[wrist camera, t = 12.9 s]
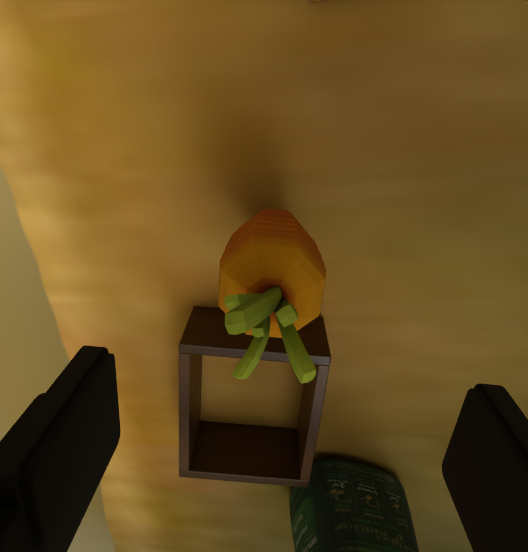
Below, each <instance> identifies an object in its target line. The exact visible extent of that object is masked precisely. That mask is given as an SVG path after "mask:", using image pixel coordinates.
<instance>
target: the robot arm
mask: <svg viewBox="0 0 528 552" xmlns="http://www.w3.org/2000/svg"><path fill="white" fill-rule="evenodd" d="M119 438H120V419H119V406H118V393H117V381H116V368H115V357H114V354H110V353H108V350H107V348H105V347H95V346H83V347H82V348H81V349H80V350H79V351H78V352H77V354H76V355H75V356H74V358H73V359H72V360H71V361H70V363H69V364H68V365H67V367H66V368H65V369H64V370H63V372H62V373H61V374H60V375H59V376H58V378H57V379H56V380H55V382H54V383H53V384H52V385H51V387H50V388H49V389H48V390H47V392H46V393H42V394H40V395H38V396H37V397H36V399H34V400H33V402H32V403H31V404H30V405H29V407H28V408H27V409H26V410H25V412H24V413H23V414H22V415H21V417H20V418H19V419H18V420H17V421H16V423H15V424H14V425H13V426H12V428H11V429H10V430H9V431H8V433H7V434H6V435H5V436H4V438H3V439H2V440H1V441H0V552H67V550H68V548H69V546H70V544H71V542H72V540H73V538H74V536H75V533H76V531H77V529H78V527H79V525H80V523H81V521H82V518H83V517H84V515H85V512H86V510H87V508H88V506H89V504H90V502H91V500H92V498H93V495H94V493H95V491H96V489H97V487H98V485H99V483H100V481H101V479H102V477H103V474H104V472H105V470H106V468H107V466H108V464H109V462H110V460H111V458H112V455H113V453H114V451H115V449H116V447H117V445H118V442H119ZM442 473H443V477H444V480H445V482H446V485H447V487H448V490H449V492H450V495H451V497H452V500H453V502H454V505H455V507H456V510H457V512H458V514H459V517H460V519H461V522H462V524H463V527H464V529H465V532H466V534H467V537H468V539H469V542H470V544H471V547H472V549H473V552H528V419H527V418H526V417H525V415H524V414H523V412H522V411H521V410H520V408H519V407H518V406H517V404H516V403H515V401H514V400H513V399H512V397H511V396H510V395H509V393H508V392H507V391H506V389H505V388H504V387H503V386H500V385H489V384H477V385H476V386H475V387H474V389H472V388H471V389H469V390H468V392H467V394H466V397H465V400H464V403H463V406H462V408H461V411H460V414H459V417H458V420H457V423H456V426H455V428H454V431H453V434H452V437H451V440H450V443H449V445H448V448H447V451H446V454H445V457H444V460H443V463H442Z"/></svg>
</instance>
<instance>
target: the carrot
mask: <svg viewBox="0 0 528 552" xmlns="http://www.w3.org/2000/svg"><path fill="white" fill-rule="evenodd" d="M325 279H326V269H325V266H324V263H323V260H322V257H321V254H320V252H319V250H318V247H317V245H316V243H315V242H314V240H313V239H312V238H311V237H310V235H309V234H308V233H307V232H306V231H305V229H304V228H303V227H302V226H301V225H300V223H299V222H298V221H297V220H296V219H295V217H294V216H293V215H292V214H291V213H290V212H289V211H286V210H275V209H262V210H261V211H259V212H258V213H257V214H256V215H255V216H253V217H252V218H251V219H250V220H248V221H247V222H246V223H245V224H244V225H242V226H241V227H240V228H239V229H238V230H237V231H236V232H235V233H234V234H233V235H232V236H231V238H230V240H229V242H228V244H227V246H226V248H225V250H224V253H223V255H222V258H221V260H220V273H219V294H218V305H219V307H220V308H221V309H222V310H223V311H224V312H225V313H226V314H225V327H226V329H227V331H228V333H229V334H233V335H237V334H240V333H245V334H246V335H253V336H254V338H253V340H252V342H251V344H250V346H249V347H248V349H247V351H246V353H245V354H244V356H243V358H242V359H241V361H240V362H239V364H238V365H237V367H236V369H235V371H234V372H233V374H232V376H234V377H236V378H237V379H248V377H249V376H250V375H251V373H252V372H253V371H254V369H255V367H256V365H257V364H258V362H259V360H260V358H261V356H262V353H263V351H264V349H265V346H266V344H267V341H268V338H269V337H277V338H282V339H283V342H284V345H285V349H286V352H287V355H288V358H289V361H290V364H291V366H292V368H293V370H294V373H295V375H296V376H297V378H298V380H299V381H300V383H308V382H309V381H311V380H313V378H314V377H315V375H316V368H315V366H314V364H313V362H312V360H311V358H310V356H309V354H308V353H307V351H306V349H305V347H304V345H303V343H302V340H301V338H300V336H299V334H298V332H297V331H298V330H299V329H301V328H302V327H304V326H305V325H306V324H308V323H309V322H311V321H312V320H314V319H315V318H317V317H318V316H319V314H320V309H321V303H322V297H323V291H324V285H325Z"/></svg>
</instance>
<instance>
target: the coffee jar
mask: <svg viewBox="0 0 528 552" xmlns="http://www.w3.org/2000/svg"><path fill="white" fill-rule="evenodd" d="M289 502H290V517H291V526H292V533H293V540H294V546H295V552H419V550H418V545H417V541H416V536H415V531H414V527H413V522H412V518H411V514H410V510H409V506H408V502H407V499H406V495H405V492H404V489H403V486H402V485H401V483H400V482H399V481H398V480H397V479H396V478H395V477H394V476H392V475H390V474H388V473H386V472H384V471H381V470H379V469H376V468H373V467H370V466H368V465H364V464H360V463H356V462H352V461H348V460H342V459H336V458H323V459H320V460H318V461H316V462H314V463H313V464H312V470H311V475H310V480H309V486H308V487H296V486H293V488H292V491H291V494H290V499H289Z"/></svg>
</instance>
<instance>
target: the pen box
mask: <svg viewBox="0 0 528 552" xmlns="http://www.w3.org/2000/svg"><path fill="white" fill-rule="evenodd" d="M225 314H226V313H225V312H224V311H223V310H222V309H221V308H209V307H197V306H194V307H193V310H192V312H191V315H190V317H189V320H188V322H187V325H186V328H185V330H184V333H183V335H182V338H181V341H180V343H179V477H188V478H200V479H212V480H224V481H236V482H248V483H260V484H272V485H284V486H296V487H308V486H309V480H310V475H311V470H312V464H313V458H314V452H315V447H316V441H317V435H318V430H319V424H320V418H321V413H322V407H323V401H324V396H325V390H326V384H327V378H328V373H329V367H330V366H329V365H330V361H331V354H330V349H329V344H328V339H327V334H326V330H325V325H324V320H323V317H317V318H315V319H314V320H312V321H311V322H309V323H308V324H306V325H305V326H304V327H302V328H301V329H299V330H298V331H297V332H298V334H299V336H300V338H301V340H302V343H303V345H304V347H305V349H306V351H307V353H308V354H309V356H310V358H311V360H312V362H313V364H314V366H315V368H316V375H315V377H314V378H313V380H311V381H309V382H308V383H304V385H303V392H302V399H301V406H300V412H299V419H298V426H297V429H286V428H274V427H263V426H251V425H239V424H227V423H215V422H203V421H200V412H201V372H202V355H209V356H221V357H232V358H243V356H244V354H245V353H246V351H247V349H248V347H249V346H250V344H251V342H252V340H253V338H254V336H253V335H246V334H245V333H240V334H237V335H233V334H229V333H228V331H227V329H226V327H225ZM260 360H268V361H280V362H290V361H289V358H288V355H287V352H286V349H285V345H284V342H283V339H282V338H277V337H269V338H268V341H267V344H266V346H265V349H264V351H263V353H262V356H261V358H260Z"/></svg>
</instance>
